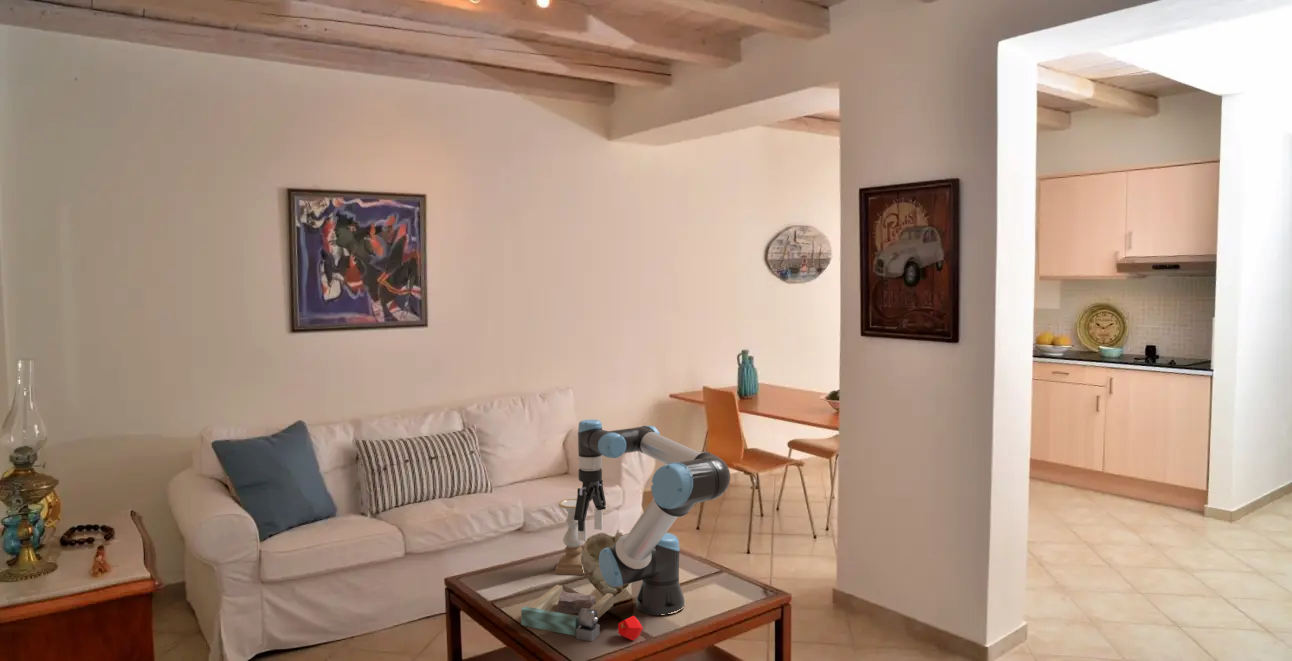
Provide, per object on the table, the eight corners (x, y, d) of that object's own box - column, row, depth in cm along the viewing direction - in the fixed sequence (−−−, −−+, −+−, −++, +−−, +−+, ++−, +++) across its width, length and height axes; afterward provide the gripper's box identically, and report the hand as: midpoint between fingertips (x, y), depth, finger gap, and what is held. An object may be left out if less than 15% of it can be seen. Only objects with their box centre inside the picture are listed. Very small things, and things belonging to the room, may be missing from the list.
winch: (601, 634, 240) (601, 607, 240) (593, 641, 236) (593, 614, 235) (582, 631, 243) (582, 604, 242) (574, 638, 238) (574, 611, 237)
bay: (613, 605, 261) (613, 589, 261) (578, 636, 239) (578, 619, 239) (557, 595, 269) (557, 580, 269) (518, 624, 247) (518, 608, 246)
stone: (594, 615, 254) (594, 600, 254) (555, 615, 254) (555, 601, 254) (596, 603, 263) (595, 588, 263) (558, 603, 263) (558, 589, 263)
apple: (635, 611, 244) (617, 609, 238) (650, 622, 239) (633, 621, 233) (626, 633, 243) (607, 632, 238) (641, 645, 239) (623, 644, 233)
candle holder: (561, 562, 298) (560, 497, 297) (591, 564, 297) (591, 498, 295) (554, 574, 288) (554, 506, 286) (585, 575, 286) (585, 507, 285)
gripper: (595, 459, 278) (595, 522, 280) (562, 475, 256) (563, 544, 258) (615, 461, 276) (616, 525, 277) (584, 477, 254) (584, 547, 255)
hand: (590, 534), depth 268 cm, fingers open, 11 cm apart
